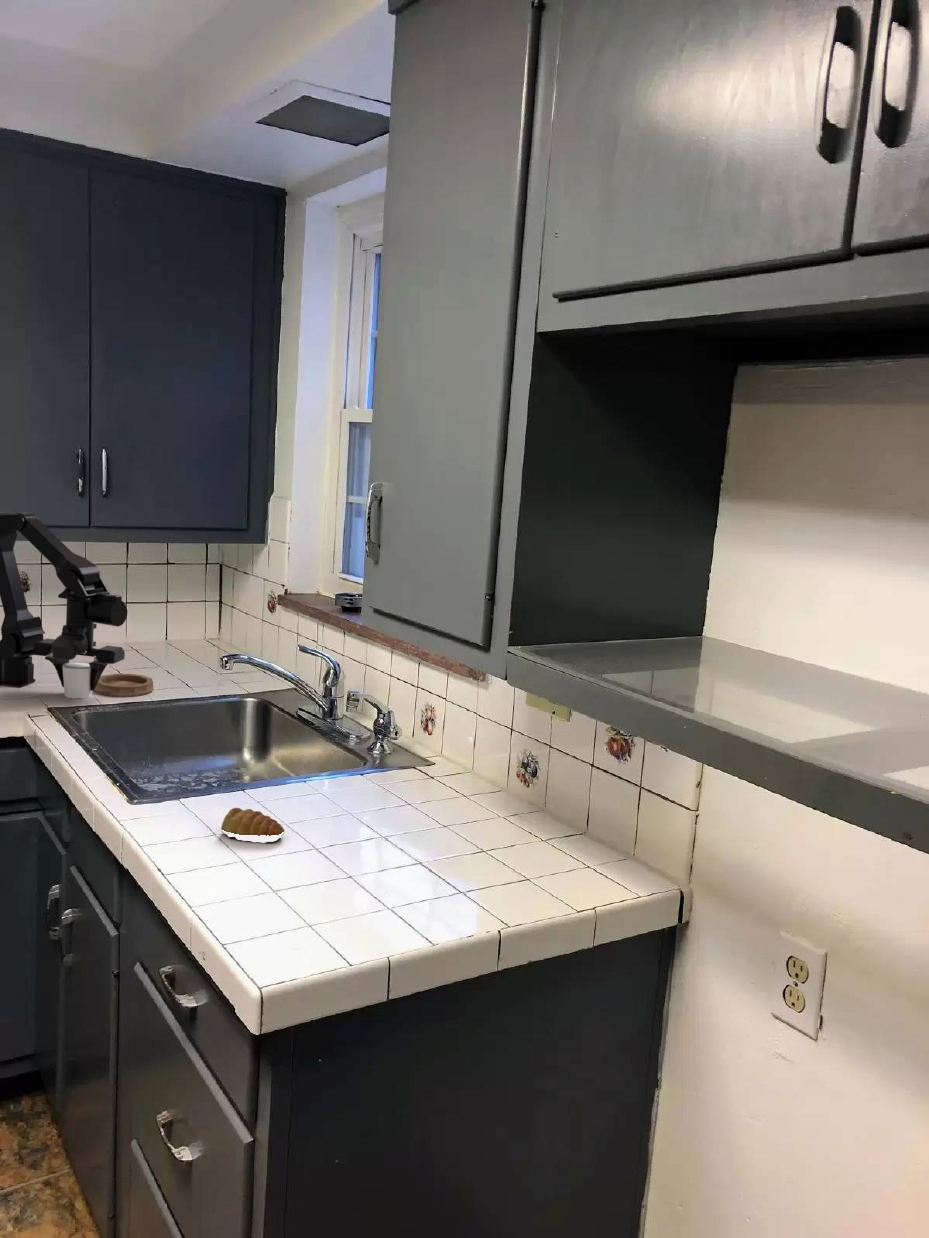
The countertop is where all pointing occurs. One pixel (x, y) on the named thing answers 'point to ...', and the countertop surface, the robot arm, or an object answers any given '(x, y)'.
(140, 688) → the round wooden tray
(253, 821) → the pastry
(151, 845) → the countertop surface
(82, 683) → the white canister
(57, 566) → the robot arm
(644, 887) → the countertop surface
